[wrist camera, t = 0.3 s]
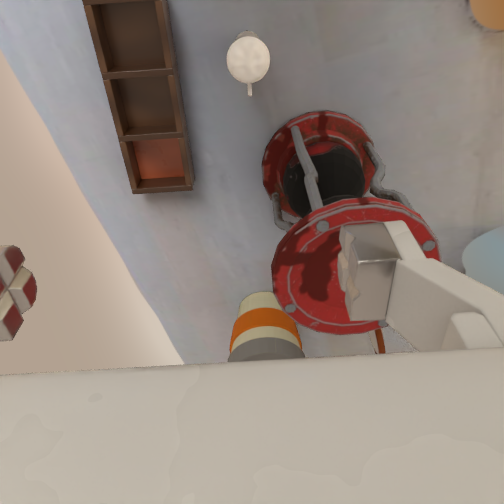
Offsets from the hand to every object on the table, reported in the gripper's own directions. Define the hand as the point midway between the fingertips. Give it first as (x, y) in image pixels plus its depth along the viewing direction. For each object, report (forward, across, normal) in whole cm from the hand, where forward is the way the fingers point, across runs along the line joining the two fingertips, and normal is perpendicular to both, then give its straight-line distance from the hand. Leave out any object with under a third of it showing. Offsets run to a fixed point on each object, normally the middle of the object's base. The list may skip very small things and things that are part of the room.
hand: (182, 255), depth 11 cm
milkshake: (+47, -2, +4) cm, 47 cm away
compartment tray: (+47, +11, +9) cm, 49 cm away
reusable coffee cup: (+47, -2, +48) cm, 67 cm away
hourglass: (+47, -11, +20) cm, 52 cm away
